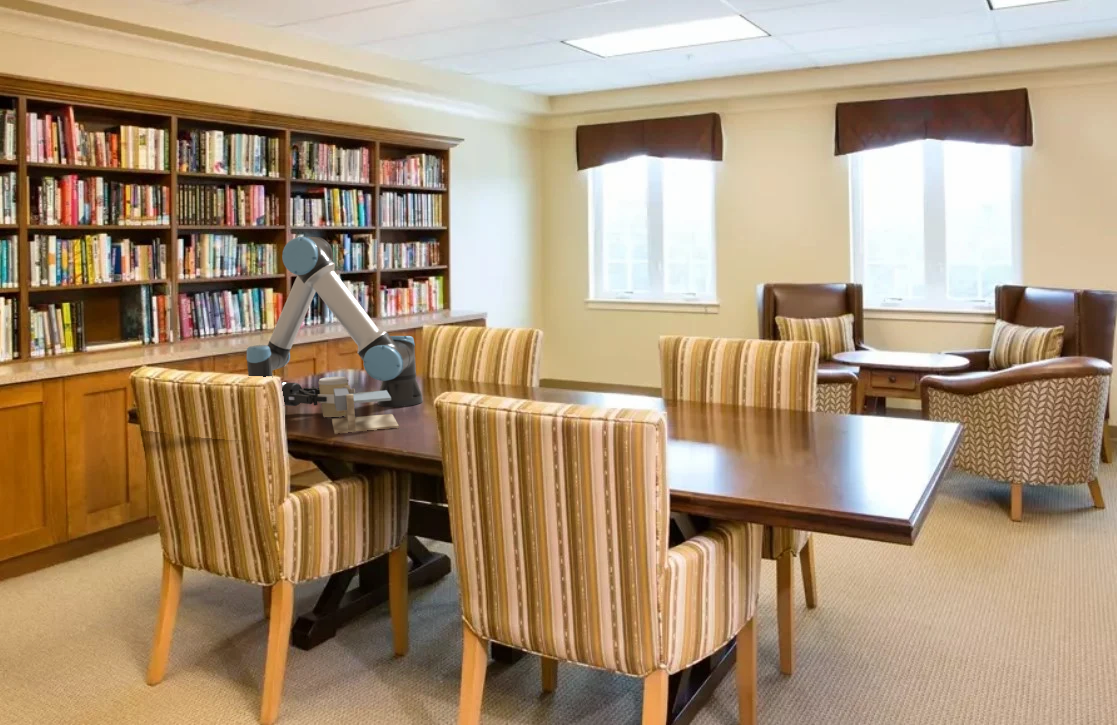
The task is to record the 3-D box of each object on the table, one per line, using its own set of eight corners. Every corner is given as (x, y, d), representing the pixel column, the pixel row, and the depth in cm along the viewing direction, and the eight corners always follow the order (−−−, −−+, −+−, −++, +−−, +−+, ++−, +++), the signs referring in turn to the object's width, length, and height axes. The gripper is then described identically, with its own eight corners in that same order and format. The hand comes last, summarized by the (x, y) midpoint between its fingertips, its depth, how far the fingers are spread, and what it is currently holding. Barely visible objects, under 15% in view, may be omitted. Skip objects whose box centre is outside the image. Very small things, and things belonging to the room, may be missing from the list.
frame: (392, 416, 288) (390, 382, 287) (398, 428, 270) (396, 391, 269) (332, 421, 283) (329, 386, 282) (334, 433, 265) (332, 396, 264)
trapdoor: (387, 398, 284) (386, 384, 284) (391, 406, 271) (390, 391, 271) (334, 402, 280) (333, 388, 280) (336, 410, 267) (335, 396, 266)
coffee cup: (343, 418, 287) (340, 381, 285) (315, 418, 289) (312, 381, 287) (355, 412, 296) (352, 376, 294) (328, 412, 298) (326, 376, 296)
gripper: (307, 399, 309) (365, 401, 301) (265, 412, 287) (326, 414, 280) (306, 377, 308) (363, 378, 300) (264, 388, 286) (325, 390, 279)
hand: (345, 396), depth 290 cm, fingers open, 10 cm apart
